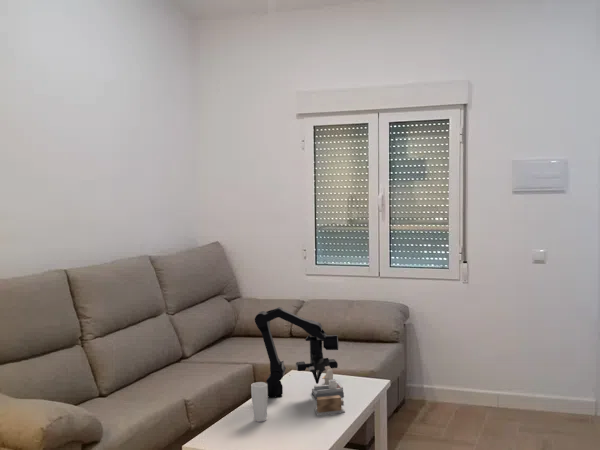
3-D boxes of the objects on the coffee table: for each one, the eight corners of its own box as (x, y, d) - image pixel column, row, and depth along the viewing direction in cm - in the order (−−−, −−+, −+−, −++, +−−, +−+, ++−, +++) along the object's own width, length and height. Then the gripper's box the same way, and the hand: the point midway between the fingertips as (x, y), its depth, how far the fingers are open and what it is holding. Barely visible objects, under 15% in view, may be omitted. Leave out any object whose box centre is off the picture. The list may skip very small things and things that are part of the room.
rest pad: (317, 415, 256) (317, 413, 256) (314, 410, 262) (314, 408, 262) (345, 412, 259) (344, 411, 259) (341, 407, 264) (341, 406, 264)
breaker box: (315, 399, 276) (315, 390, 276) (311, 392, 285) (311, 384, 285) (343, 396, 278) (343, 388, 278) (338, 390, 287) (338, 382, 287)
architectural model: (322, 385, 297) (321, 370, 297) (327, 381, 303) (327, 366, 303) (328, 386, 295) (328, 371, 295) (334, 382, 302) (333, 367, 301)
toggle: (330, 391, 280) (330, 382, 280) (328, 388, 284) (328, 379, 284) (337, 390, 280) (336, 381, 280) (335, 388, 284) (334, 378, 284)
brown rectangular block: (318, 412, 258) (318, 399, 258) (316, 409, 261) (316, 397, 261) (344, 409, 260) (343, 397, 260) (342, 407, 263) (341, 394, 263)
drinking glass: (256, 424, 249) (254, 388, 248) (249, 419, 255) (248, 383, 254) (271, 420, 252) (270, 385, 251) (264, 415, 258) (263, 380, 257)
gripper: (299, 356, 270) (300, 390, 271) (340, 352, 273) (341, 387, 274) (294, 349, 281) (296, 383, 282) (334, 346, 284) (335, 379, 285)
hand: (317, 383), depth 281 cm, fingers closed
